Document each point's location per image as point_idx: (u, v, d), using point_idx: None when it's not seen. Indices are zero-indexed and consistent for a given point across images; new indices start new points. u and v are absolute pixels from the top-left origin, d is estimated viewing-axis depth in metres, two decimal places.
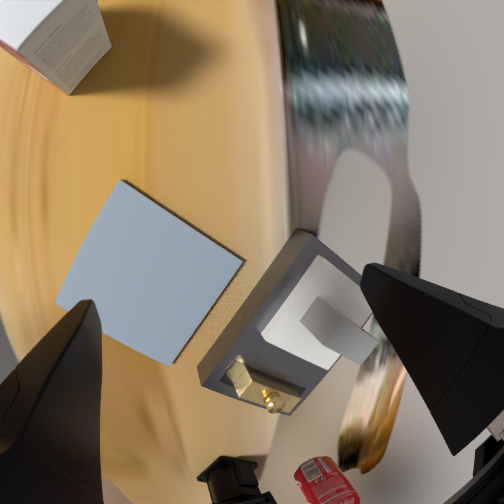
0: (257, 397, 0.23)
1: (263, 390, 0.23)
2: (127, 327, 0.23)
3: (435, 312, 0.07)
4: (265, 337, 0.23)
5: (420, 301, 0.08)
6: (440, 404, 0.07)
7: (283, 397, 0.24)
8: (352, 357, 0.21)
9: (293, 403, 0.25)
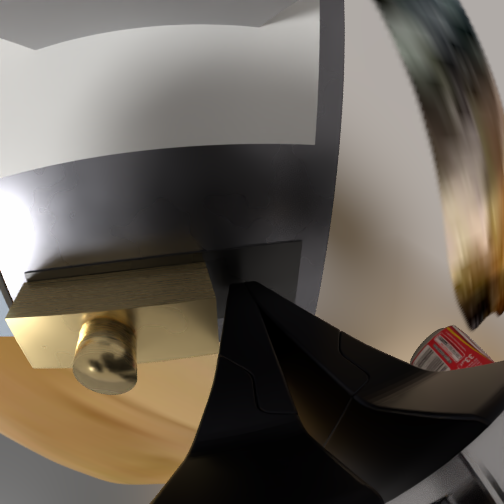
0: (67, 353, 0.07)
1: (56, 330, 0.06)
2: None
3: (299, 355, 0.06)
4: None
5: (285, 337, 0.06)
6: None
7: (140, 322, 0.07)
8: None
9: (200, 323, 0.07)
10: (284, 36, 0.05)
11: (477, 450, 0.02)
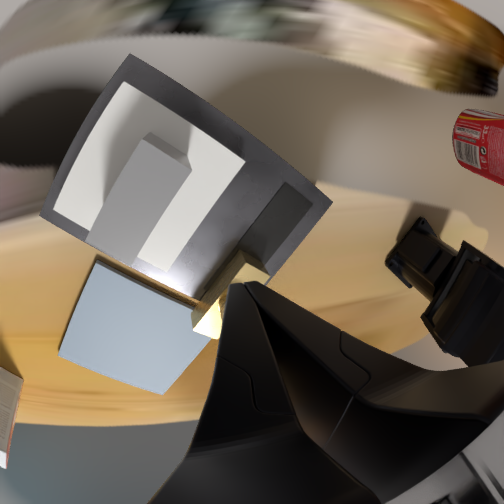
0: None
1: (211, 316, 0.19)
2: (177, 354, 0.26)
3: (301, 354, 0.06)
4: None
5: (286, 337, 0.06)
6: None
7: None
8: (166, 198, 0.11)
9: (251, 273, 0.18)
10: (196, 147, 0.14)
11: (478, 449, 0.02)
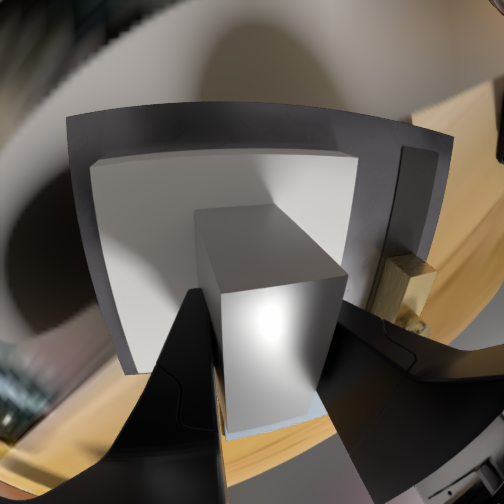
0: None
1: None
2: None
3: (347, 342, 0.06)
4: None
5: None
6: (357, 450, 0.06)
7: (404, 310, 0.12)
8: (324, 336, 0.06)
9: (418, 283, 0.12)
10: (281, 184, 0.08)
11: None
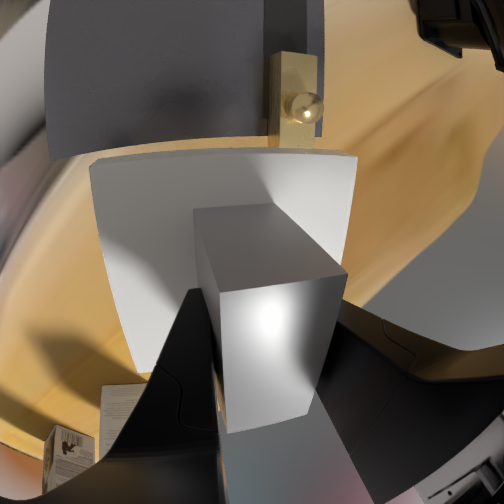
0: (304, 133, 0.14)
1: (288, 132, 0.14)
2: None
3: (347, 342, 0.06)
4: None
5: None
6: (357, 450, 0.06)
7: (290, 87, 0.13)
8: (323, 335, 0.06)
9: (295, 60, 0.12)
10: (281, 183, 0.08)
11: None
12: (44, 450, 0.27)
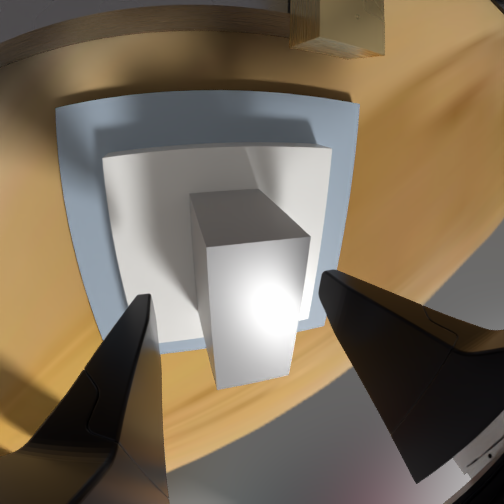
0: None
1: None
2: None
3: (394, 327, 0.07)
4: None
5: (377, 314, 0.07)
6: (400, 428, 0.06)
7: None
8: (295, 292, 0.07)
9: None
10: (263, 171, 0.10)
11: None
12: None
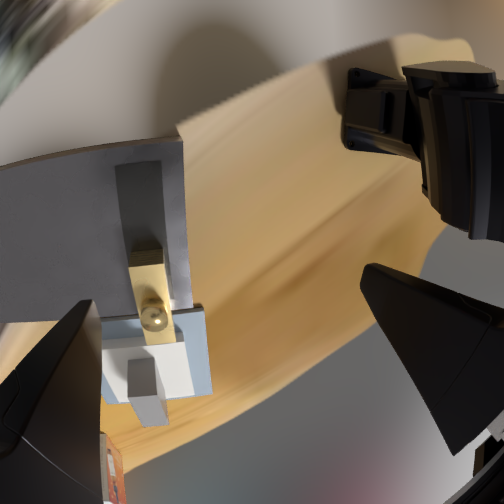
0: None
1: None
2: (189, 356, 0.25)
3: (435, 311, 0.07)
4: None
5: (420, 301, 0.08)
6: (440, 404, 0.07)
7: (142, 295, 0.16)
8: (158, 405, 0.20)
9: (142, 273, 0.15)
10: (154, 352, 0.22)
11: None
12: None
